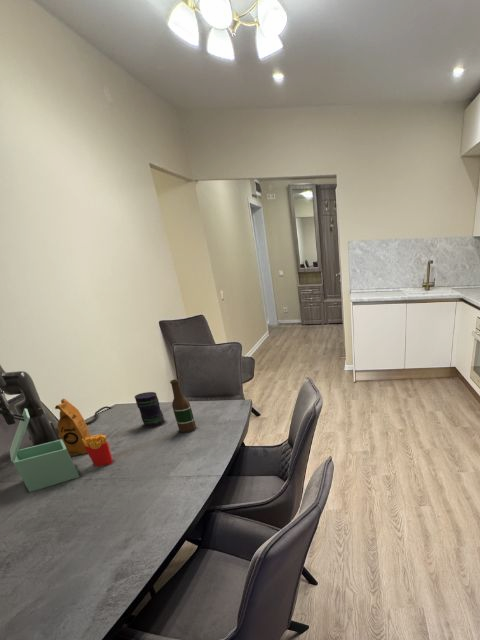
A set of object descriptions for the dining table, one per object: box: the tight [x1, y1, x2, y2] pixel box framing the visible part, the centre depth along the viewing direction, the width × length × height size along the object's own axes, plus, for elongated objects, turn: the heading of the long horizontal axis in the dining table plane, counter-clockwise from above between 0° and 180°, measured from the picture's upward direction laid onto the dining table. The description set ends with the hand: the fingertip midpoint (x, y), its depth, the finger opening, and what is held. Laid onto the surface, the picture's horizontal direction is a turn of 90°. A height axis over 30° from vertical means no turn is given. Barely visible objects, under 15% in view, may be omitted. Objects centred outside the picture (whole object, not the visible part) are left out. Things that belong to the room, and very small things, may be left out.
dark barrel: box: [134, 391, 166, 428], centre depth 193 cm, size 10×10×15 cm
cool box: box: [12, 438, 80, 493], centre depth 147 cm, size 16×13×12 cm
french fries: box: [82, 434, 114, 467], centre depth 156 cm, size 8×4×12 cm, turn 110°
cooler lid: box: [9, 409, 30, 463], centre depth 137 cm, size 17×13×6 cm
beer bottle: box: [169, 379, 197, 433], centre depth 182 cm, size 8×8×24 cm
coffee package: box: [54, 398, 92, 457], centre depth 167 cm, size 10×12×22 cm
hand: (11, 421), depth 136 cm, fingers closed on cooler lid, 5 cm apart
